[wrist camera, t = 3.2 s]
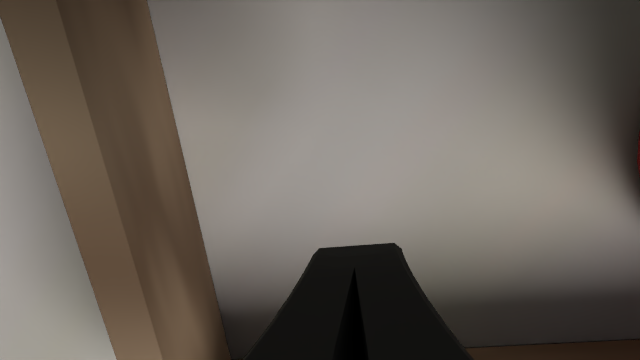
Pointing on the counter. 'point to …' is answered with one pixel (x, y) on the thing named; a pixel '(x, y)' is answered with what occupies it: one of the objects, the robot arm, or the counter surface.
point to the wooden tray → (144, 181)
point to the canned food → (639, 158)
